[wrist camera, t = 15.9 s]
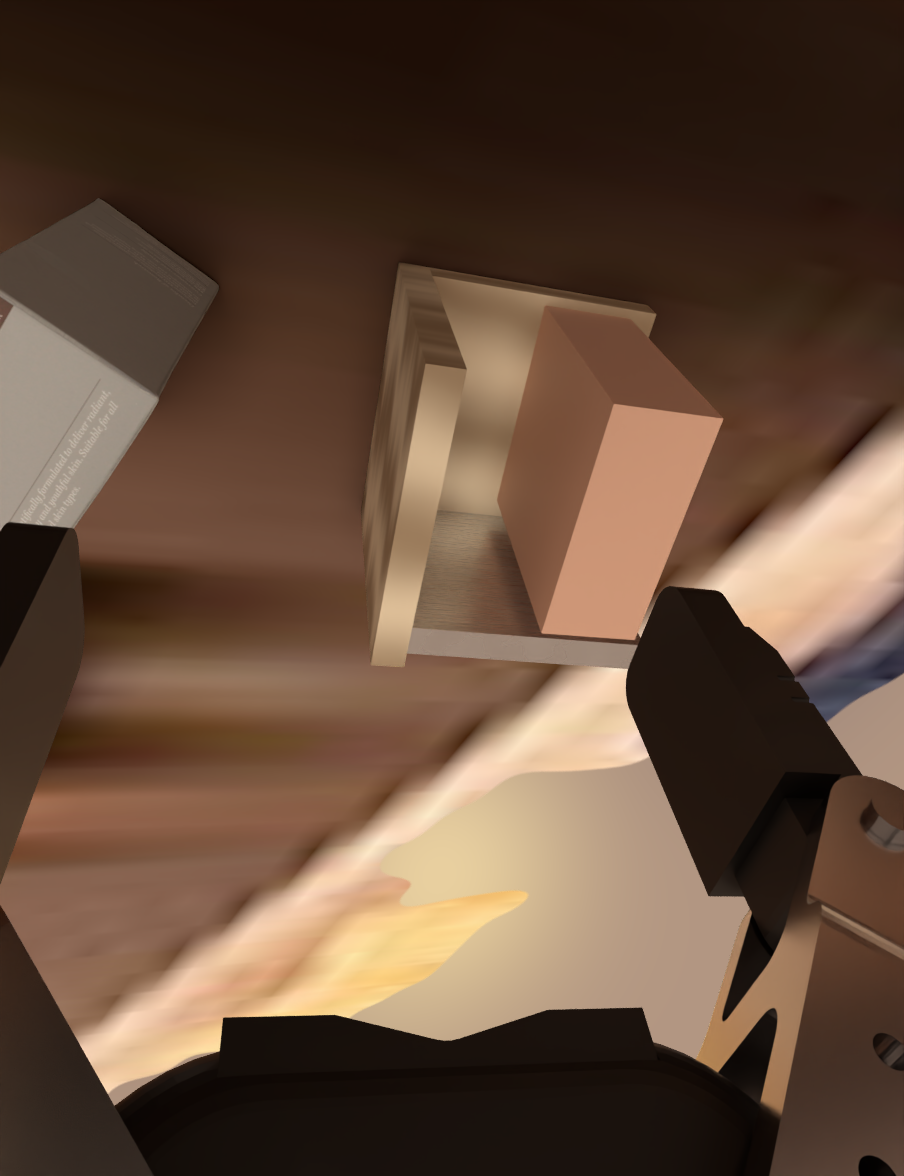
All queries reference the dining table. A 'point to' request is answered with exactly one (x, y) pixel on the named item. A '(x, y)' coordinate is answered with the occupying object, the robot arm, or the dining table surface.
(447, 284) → the plywood shelf
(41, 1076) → the robot arm
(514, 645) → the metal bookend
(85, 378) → the skincare box
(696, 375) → the dining table surface
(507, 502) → the terracotta book
